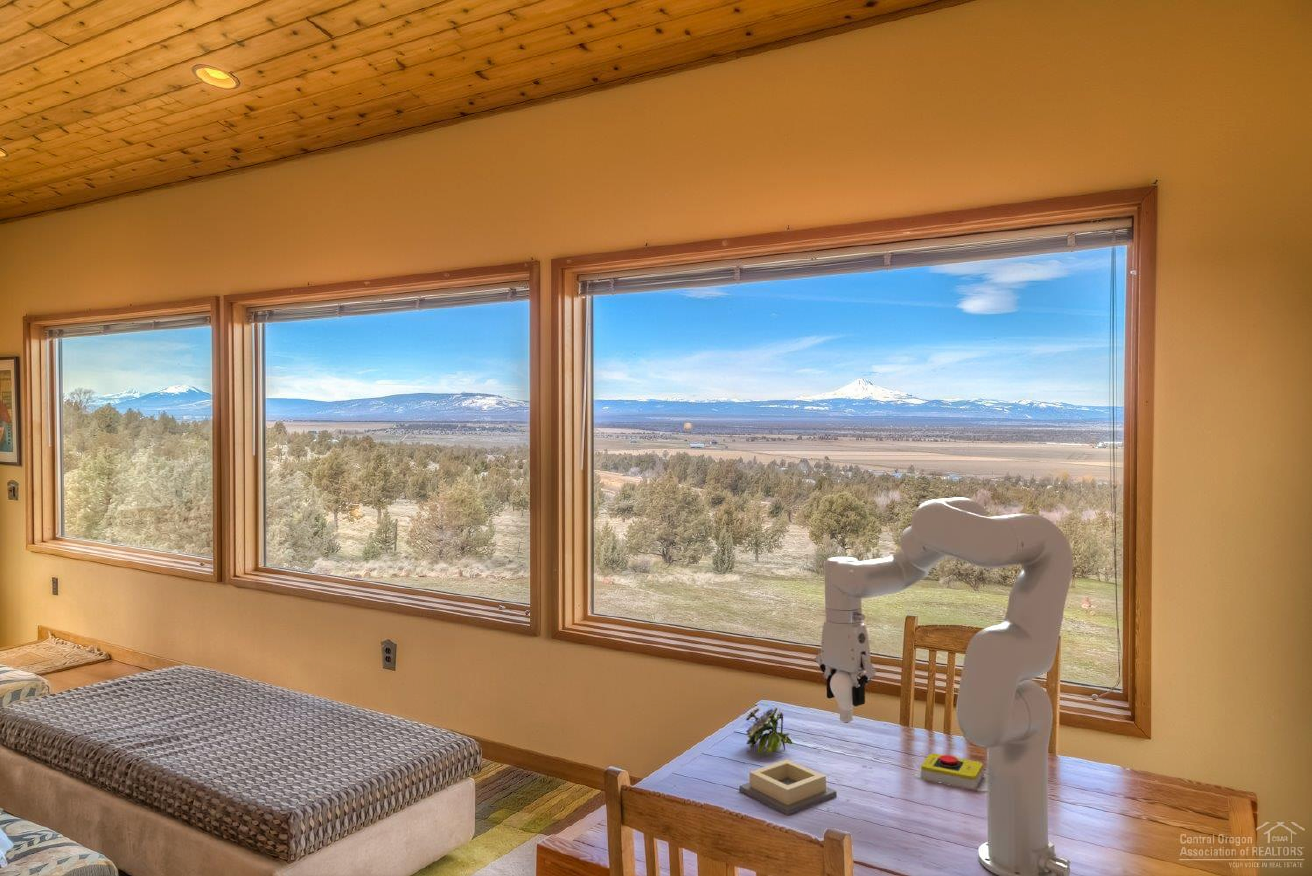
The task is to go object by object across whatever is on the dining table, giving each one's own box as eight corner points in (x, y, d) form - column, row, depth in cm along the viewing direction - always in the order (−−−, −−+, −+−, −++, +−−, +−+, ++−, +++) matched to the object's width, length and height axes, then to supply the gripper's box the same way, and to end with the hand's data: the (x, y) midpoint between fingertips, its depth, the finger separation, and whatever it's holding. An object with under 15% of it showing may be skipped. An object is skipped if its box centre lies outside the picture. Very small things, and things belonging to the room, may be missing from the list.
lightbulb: (827, 725, 173) (825, 672, 173) (835, 716, 179) (834, 665, 179) (857, 729, 170) (856, 675, 170) (864, 720, 176) (863, 668, 176)
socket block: (836, 796, 169) (836, 776, 169) (787, 815, 161) (787, 794, 161) (787, 773, 180) (787, 755, 180) (739, 790, 172) (739, 771, 172)
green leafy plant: (754, 768, 197) (751, 717, 204) (799, 764, 194) (794, 713, 201) (742, 756, 188) (739, 703, 195) (788, 751, 185) (784, 698, 192)
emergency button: (923, 745, 186) (994, 759, 177) (924, 765, 186) (995, 779, 177) (912, 759, 178) (986, 774, 170) (912, 780, 178) (986, 795, 170)
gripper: (888, 619, 170) (890, 707, 170) (824, 607, 184) (826, 688, 184) (864, 624, 165) (866, 714, 165) (801, 612, 179) (803, 695, 179)
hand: (845, 700), depth 174 cm, fingers closed on lightbulb, 6 cm apart
